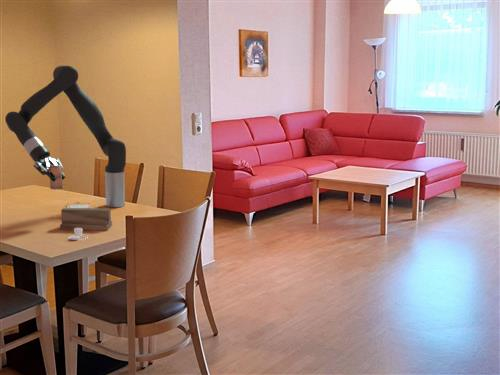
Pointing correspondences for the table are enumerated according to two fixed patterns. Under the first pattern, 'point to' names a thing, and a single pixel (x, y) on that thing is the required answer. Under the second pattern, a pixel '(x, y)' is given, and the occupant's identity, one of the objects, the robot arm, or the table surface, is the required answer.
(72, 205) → the baseboard molding
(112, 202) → the robot arm
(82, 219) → the ridge
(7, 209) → the table surface
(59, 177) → the pink domed cylinder
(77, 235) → the teacup and saucer
